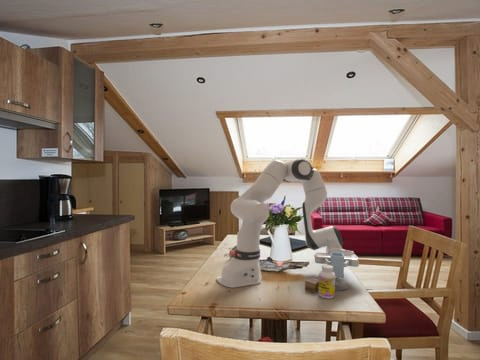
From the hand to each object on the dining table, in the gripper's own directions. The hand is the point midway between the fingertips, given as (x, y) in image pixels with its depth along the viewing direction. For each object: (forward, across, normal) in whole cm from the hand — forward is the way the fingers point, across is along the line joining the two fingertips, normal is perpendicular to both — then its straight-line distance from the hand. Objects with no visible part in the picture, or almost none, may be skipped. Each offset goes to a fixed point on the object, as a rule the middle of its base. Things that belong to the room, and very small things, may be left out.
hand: (337, 264), depth 139 cm
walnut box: (+6, -11, +10) cm, 16 cm away
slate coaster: (-1, 0, +10) cm, 10 cm away
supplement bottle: (+12, -5, +10) cm, 16 cm away
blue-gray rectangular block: (-1, 0, +6) cm, 6 cm away
